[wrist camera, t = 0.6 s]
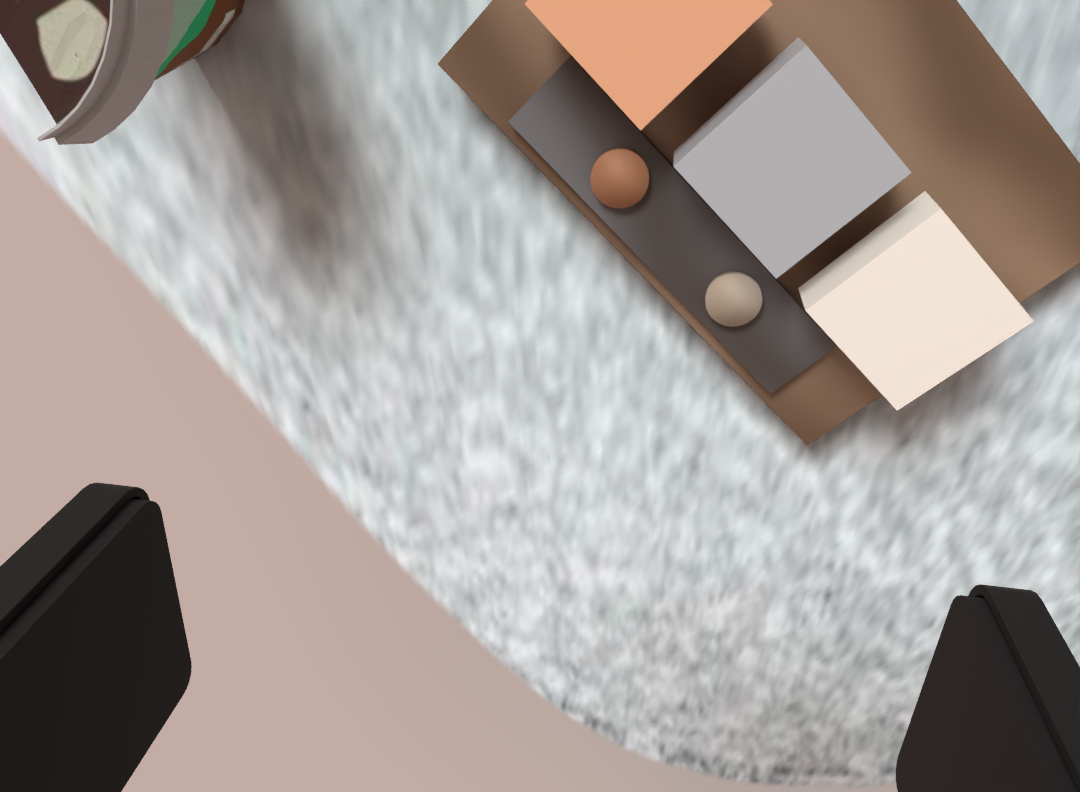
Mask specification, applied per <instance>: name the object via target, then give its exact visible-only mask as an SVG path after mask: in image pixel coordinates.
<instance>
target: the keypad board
mask: <svg viewBox="0 0 1080 792" xmlns="http://www.w3.org/2000/svg"><path fill="white" fill-rule="evenodd" d="M526 1H527V0H493V1H492V2H491V3H490V4H489V5H488V6H487V8H486V9H485V10H484V11H483V12H482V13H481V14H480V16H479V17H478V18H477V19H476V20H475V21H474V23H473V24H472V25H471V26H470V27H469V28H468V29H467V31H466V32H465V33H464V34H463V35H462V36H461V38H460V39H459V40H458V41H457V42H456V43H455V44H454V46H453V47H452V48H451V49H450V50H449V51H448V53H447V54H446V55H445V56H444V57H443V58H442V59H441V61H440V62H439V63H438V65H439V66H440V67H441V68H442V69H443V70H444V71H445V72H446V73H447V74H448V75H449V76H450V77H451V78H452V79H453V80H454V81H455V82H456V83H457V84H458V86H459V87H460V88H461V89H462V90H463V91H464V92H465V93H466V94H467V95H468V96H469V97H470V98H471V99H472V100H473V101H474V102H475V103H476V104H477V105H478V106H479V107H480V108H481V109H482V110H483V111H484V112H485V113H486V114H487V115H488V116H489V117H490V119H491V120H492V121H493V122H494V123H495V124H496V125H497V126H498V127H499V128H500V129H501V130H502V131H503V132H504V133H505V134H506V135H507V136H508V137H509V138H510V139H511V140H512V141H513V142H514V143H515V144H516V145H517V146H518V147H519V148H520V149H521V151H522V152H523V153H524V154H525V155H526V156H527V157H528V158H529V159H530V160H531V161H532V162H533V163H534V164H535V165H536V166H537V167H538V168H539V169H540V170H541V171H542V172H543V173H544V174H545V175H546V176H547V177H548V178H549V179H550V180H551V181H552V182H553V184H554V185H555V186H556V187H557V188H558V189H559V190H560V191H561V192H562V193H563V194H564V195H565V196H566V197H567V198H568V199H569V200H570V201H571V202H572V203H573V204H574V205H575V206H576V207H577V208H578V209H579V210H580V211H581V212H582V213H583V214H584V215H585V217H586V218H587V219H588V220H589V221H590V222H591V223H592V224H593V225H594V226H595V227H596V228H597V229H598V230H599V231H600V232H601V233H602V234H603V235H604V236H605V237H606V238H607V239H608V240H609V241H610V242H611V243H612V244H613V245H614V246H615V247H616V249H617V250H618V251H619V252H620V253H621V254H622V255H623V256H624V257H625V258H626V259H627V260H628V261H629V262H630V263H631V264H632V265H633V266H634V267H635V268H636V269H637V270H638V271H639V272H640V273H641V274H642V275H643V276H644V277H645V278H646V279H647V280H648V282H649V283H650V284H651V285H652V286H653V287H654V288H655V289H656V290H657V291H658V292H659V293H660V294H661V295H662V296H663V297H664V298H665V299H666V300H667V301H668V302H669V303H670V304H671V305H672V306H673V307H674V308H675V309H676V310H677V311H678V312H679V314H680V315H681V316H682V317H683V318H684V319H685V320H686V321H687V322H688V323H689V324H690V325H691V326H692V327H693V328H694V329H695V330H696V331H697V332H698V333H699V334H700V335H701V336H702V337H703V338H704V339H705V340H706V341H707V342H708V343H709V344H710V345H711V347H712V348H713V349H714V350H715V351H716V352H717V353H718V354H719V355H720V356H721V357H722V358H723V359H724V360H725V361H726V362H727V363H728V364H729V365H730V366H731V367H732V368H733V369H734V370H735V371H736V372H737V373H738V374H739V375H740V376H741V377H742V378H743V380H744V381H745V382H746V383H747V384H748V385H749V386H750V387H751V388H752V389H753V390H754V391H755V392H756V393H757V394H758V395H759V396H760V397H761V398H762V399H763V400H764V401H765V402H766V403H767V404H768V405H769V406H770V407H771V408H772V409H773V410H774V412H775V413H776V414H777V415H778V416H779V417H780V418H781V419H782V420H783V421H784V422H785V423H786V424H787V425H788V426H789V427H790V428H791V429H792V430H793V431H794V432H795V433H796V434H797V435H798V436H799V437H800V438H801V439H802V440H803V441H804V442H805V443H806V445H808V444H810V443H811V442H813V441H814V440H816V439H817V438H819V437H820V436H822V435H823V434H825V433H826V432H828V431H829V430H831V429H832V428H834V427H835V426H837V425H838V424H840V423H841V422H843V421H844V420H846V419H847V418H849V417H850V416H852V415H853V414H855V413H856V412H858V411H859V410H861V409H862V408H864V407H865V406H867V405H868V404H870V403H871V402H873V401H874V400H876V399H877V398H879V397H880V396H882V394H881V393H880V392H879V391H878V389H877V388H876V387H875V386H874V385H873V384H872V383H871V382H870V381H869V380H868V378H867V377H866V376H865V375H864V374H863V373H862V372H861V371H860V370H859V369H858V368H857V366H856V365H855V364H854V363H853V362H852V361H851V360H850V359H849V358H848V357H847V356H846V354H845V353H844V352H843V351H842V350H841V349H840V348H839V347H838V346H837V345H836V344H835V342H834V341H833V340H832V339H831V338H830V337H829V336H828V335H827V334H826V333H825V332H824V330H823V329H822V328H821V327H820V326H819V325H818V324H817V323H816V322H815V321H814V320H813V318H812V317H811V316H810V315H809V314H808V313H807V312H806V311H805V308H804V305H803V302H802V299H801V295H800V292H799V289H798V288H799V287H800V286H802V285H803V284H804V283H806V282H807V281H808V280H810V279H811V278H812V277H813V276H815V275H816V274H817V273H819V272H820V271H821V270H823V269H824V268H825V267H826V266H828V265H829V264H830V263H832V262H833V261H834V260H836V259H837V258H838V257H839V256H841V255H842V254H843V253H845V252H846V251H847V250H849V249H850V248H851V247H853V246H854V245H855V244H856V243H858V242H859V241H860V240H862V239H863V238H864V237H866V236H867V235H868V234H869V233H871V232H872V231H873V230H875V229H876V228H877V227H879V226H880V225H881V224H882V223H884V222H885V221H886V220H888V219H889V218H890V217H892V216H893V215H894V214H895V213H897V212H898V211H899V210H901V209H902V208H903V207H905V206H906V205H907V204H909V203H910V202H911V201H912V200H914V199H915V198H916V197H918V196H919V195H920V194H922V193H923V192H924V191H926V192H927V194H928V195H929V196H930V197H931V198H932V199H933V200H934V201H935V202H936V203H937V205H938V206H939V207H940V208H941V209H942V210H943V211H944V213H945V214H946V215H947V216H948V217H949V219H950V220H951V221H952V222H953V224H954V225H955V226H956V227H957V228H958V230H959V231H960V232H961V233H962V234H963V236H964V237H965V238H966V239H967V241H968V242H969V243H970V244H971V245H972V247H973V248H974V249H975V250H976V251H977V253H978V254H979V255H980V256H981V258H982V259H983V260H984V261H985V262H986V264H987V265H988V266H989V267H990V268H991V270H992V271H993V272H994V273H995V275H996V276H997V277H998V278H999V279H1000V281H1001V282H1002V283H1003V284H1004V285H1005V287H1006V288H1007V289H1008V290H1009V292H1010V293H1011V294H1012V295H1013V296H1014V298H1015V299H1016V300H1017V301H1018V302H1019V303H1020V302H1022V301H1023V300H1025V299H1026V298H1028V297H1029V296H1031V295H1032V294H1034V293H1035V292H1037V291H1038V290H1040V289H1041V288H1043V287H1044V286H1046V285H1047V284H1049V283H1050V282H1052V281H1053V280H1055V279H1056V278H1058V277H1059V276H1061V275H1062V274H1064V273H1065V272H1067V271H1068V270H1070V269H1071V268H1073V267H1074V266H1076V265H1077V264H1079V263H1080V163H1079V162H1078V161H1077V159H1076V158H1075V157H1074V155H1073V154H1072V153H1071V151H1070V150H1069V149H1068V147H1067V146H1066V145H1065V143H1064V142H1063V141H1062V139H1061V138H1060V137H1059V135H1058V134H1057V133H1056V131H1055V130H1054V129H1053V127H1052V126H1051V125H1050V123H1049V122H1048V121H1047V119H1046V118H1045V117H1044V115H1043V114H1042V113H1041V112H1040V110H1039V109H1038V108H1037V106H1036V105H1035V104H1034V102H1033V101H1032V100H1031V98H1030V97H1029V96H1028V94H1027V93H1026V92H1025V90H1024V89H1023V88H1022V86H1021V85H1020V84H1019V82H1018V81H1017V80H1016V78H1015V77H1014V76H1013V74H1012V73H1011V72H1010V70H1009V69H1008V68H1007V66H1006V65H1005V64H1004V62H1003V61H1002V60H1001V59H1000V57H999V56H998V55H997V53H996V52H995V51H994V49H993V48H992V47H991V45H990V44H989V43H988V41H987V40H986V39H985V37H984V36H983V35H982V33H981V32H980V31H979V29H978V28H977V27H976V25H975V24H974V23H973V21H972V20H971V19H970V17H969V16H968V15H967V13H966V12H965V11H964V9H963V8H962V7H961V5H960V4H959V3H958V2H957V0H770V1H771V3H772V4H773V5H772V6H771V7H770V8H769V9H768V10H767V11H766V12H765V13H763V14H762V15H761V16H760V17H759V18H758V19H757V20H756V21H755V22H754V23H753V24H752V25H751V26H750V27H749V28H748V29H747V30H746V31H745V32H744V33H742V34H741V35H740V36H739V37H738V38H737V39H736V40H735V41H734V42H733V43H732V44H731V45H730V46H729V47H728V48H727V49H726V50H725V51H724V52H723V53H722V54H720V55H719V56H718V57H717V58H716V59H715V60H714V61H713V62H712V63H711V64H710V65H709V66H708V67H707V68H706V69H705V70H704V71H703V72H702V73H701V74H699V75H698V76H697V77H696V78H695V79H694V80H693V81H692V82H691V83H690V84H689V85H688V86H687V87H686V88H685V89H684V90H683V91H682V92H681V93H680V94H679V95H677V96H676V97H675V98H674V99H673V100H672V101H671V102H670V103H669V104H668V105H667V106H666V107H665V108H664V109H663V110H662V111H661V112H660V113H659V114H658V115H656V116H655V117H654V118H653V119H652V120H651V121H650V122H649V123H648V124H647V125H646V126H645V127H644V128H643V129H642V130H641V131H640V129H639V128H638V127H637V126H636V125H635V124H634V123H633V122H632V121H631V120H630V119H629V117H628V116H627V115H626V114H625V113H624V112H623V111H622V110H621V109H620V108H619V107H618V105H617V104H616V103H615V102H614V101H613V100H612V99H611V98H610V97H609V96H608V95H607V93H606V92H605V91H604V90H603V89H602V88H601V87H600V86H599V85H598V84H597V82H596V81H595V80H594V79H593V78H592V77H591V76H590V75H589V74H588V73H587V72H586V70H585V69H584V68H583V67H582V66H581V65H580V64H579V63H578V62H577V61H576V60H575V58H574V57H573V56H572V55H571V54H570V53H569V52H568V51H567V50H566V49H565V48H564V46H563V45H562V44H561V43H560V42H559V41H558V40H557V39H556V38H555V37H554V36H553V34H552V33H551V32H550V31H549V30H548V29H547V28H546V27H545V26H544V25H543V24H542V22H541V21H540V20H539V19H538V18H537V17H536V16H535V15H534V14H533V13H532V11H531V10H530V9H529V8H528V7H527V6H526V5H525V3H526ZM798 37H799V38H800V39H801V40H802V41H803V42H804V43H805V44H806V45H807V46H808V47H809V49H810V50H811V51H812V52H813V54H814V55H815V56H816V57H817V58H818V60H819V61H820V62H821V63H822V64H823V66H824V67H825V68H826V69H827V71H828V72H829V73H830V74H831V75H832V77H833V78H834V79H835V80H836V81H837V83H838V84H839V85H840V86H841V88H842V89H843V90H844V91H845V92H846V94H847V95H848V96H849V97H850V98H851V100H852V101H853V102H854V103H855V105H856V106H857V107H858V108H859V109H860V111H861V112H862V113H863V114H864V115H865V117H866V118H867V119H868V120H869V122H870V123H871V124H872V125H873V126H874V128H875V129H876V130H877V131H878V132H879V134H880V135H881V136H882V137H883V139H884V140H885V141H886V142H887V143H888V145H889V146H890V147H891V148H892V149H893V151H894V152H895V153H896V154H897V156H898V157H899V158H900V159H901V160H902V162H903V163H904V164H905V165H906V166H907V168H908V169H909V170H910V171H911V174H909V175H908V176H907V177H905V178H904V179H903V180H902V181H900V182H899V183H898V184H897V185H895V186H894V187H893V188H891V189H890V190H889V191H888V192H886V193H885V194H884V195H883V196H881V197H880V198H879V199H877V200H876V201H875V202H874V203H872V204H871V205H870V206H868V207H867V208H866V209H865V210H863V211H862V212H861V213H860V214H858V215H857V216H856V217H854V218H853V219H852V220H851V221H849V222H848V223H847V224H846V225H844V226H843V227H842V228H840V229H839V230H838V231H837V232H835V233H834V234H833V235H831V236H830V237H829V238H828V239H826V240H825V241H824V242H823V243H821V244H820V245H819V246H817V247H816V248H815V249H814V250H812V251H811V252H810V253H809V254H807V255H806V256H805V257H803V258H802V259H801V260H800V261H798V262H797V263H796V264H794V265H793V266H792V267H791V268H789V269H788V270H787V271H786V272H784V273H783V274H782V275H780V276H779V277H778V278H777V279H776V278H775V277H774V276H773V275H772V274H771V273H770V271H769V270H768V269H767V268H766V267H765V266H764V265H763V264H762V263H761V262H760V261H759V259H758V258H757V257H756V256H755V255H754V254H753V253H752V252H751V251H750V250H749V249H748V247H747V246H746V245H745V244H744V243H743V242H742V241H741V240H740V239H739V238H738V236H737V235H736V234H735V233H734V232H733V231H732V230H731V229H730V228H729V227H728V226H727V224H726V223H725V222H724V221H723V220H722V219H721V218H720V217H719V216H718V215H717V214H716V212H715V211H714V210H713V209H712V208H711V207H710V206H709V205H708V204H707V203H706V202H705V200H704V199H703V198H702V197H701V196H700V195H699V194H698V193H697V192H696V191H695V190H694V188H693V187H692V186H691V185H690V184H689V183H688V182H687V181H686V180H685V179H684V178H683V176H682V175H681V174H680V173H679V172H678V171H677V170H676V169H675V168H674V167H673V161H674V151H675V150H676V149H677V148H678V147H679V146H680V145H681V144H683V143H684V142H685V141H686V140H687V139H688V138H689V137H690V136H691V135H692V134H693V133H694V132H696V131H697V130H698V129H699V128H700V127H701V126H702V125H703V124H704V123H705V122H706V121H708V120H709V119H710V118H711V117H712V116H713V115H714V114H715V113H716V112H717V111H718V110H720V109H721V108H722V107H723V106H724V105H725V104H726V103H727V102H728V101H729V100H730V99H731V98H733V97H734V96H735V95H736V94H737V93H738V92H739V91H740V90H741V89H742V88H743V87H745V86H746V85H747V84H748V83H749V82H750V81H751V80H752V79H753V78H754V77H755V76H757V75H758V74H759V73H760V72H761V71H762V70H763V69H764V68H765V67H766V66H767V65H768V64H770V63H771V62H772V61H773V60H774V59H775V58H776V57H777V56H778V55H779V54H780V53H782V52H783V51H784V50H785V49H786V48H787V47H788V46H789V45H790V44H791V43H792V42H794V41H795V40H796V39H797V38H798Z"/></svg>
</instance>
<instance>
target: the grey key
mask: <svg viewBox="0 0 1080 792" xmlns="http://www.w3.org/2000/svg"><path fill="white" fill-rule="evenodd" d="M673 167H674V168H675V169H676V170H677V171H678V172H679V173H680V174H681V175H682V176H683V178H684V179H685V180H686V181H687V182H688V183H689V184H690V185H691V186H692V187H693V188H694V190H695V191H696V192H697V193H698V194H699V195H700V196H701V197H702V198H703V199H704V200H705V202H706V203H707V204H708V205H709V206H710V207H711V208H712V209H713V210H714V211H715V212H716V214H717V215H718V216H719V217H720V218H721V219H722V220H723V221H724V222H725V223H726V224H727V226H728V227H729V228H730V229H731V230H732V231H733V232H734V233H735V234H736V235H737V236H738V238H739V239H740V240H741V241H742V242H743V243H744V244H745V245H746V246H747V247H748V249H749V250H750V251H751V252H752V253H753V254H754V255H755V256H756V257H757V258H758V259H759V261H760V262H761V263H762V264H763V265H764V266H765V267H766V268H767V269H768V270H769V271H770V273H771V274H772V275H773V276H774V277H775V278H776V279H777V278H778V277H779V276H780V275H782V274H783V273H784V272H786V271H787V270H788V269H789V268H791V267H792V266H793V265H794V264H796V263H797V262H798V261H800V260H801V259H802V258H803V257H805V256H806V255H807V254H809V253H810V252H811V251H812V250H814V249H815V248H816V247H817V246H819V245H820V244H821V243H823V242H824V241H825V240H826V239H828V238H829V237H830V236H831V235H833V234H834V233H835V232H837V231H838V230H839V229H840V228H842V227H843V226H844V225H846V224H847V223H848V222H849V221H851V220H852V219H853V218H854V217H856V216H857V215H858V214H860V213H861V212H862V211H863V210H865V209H866V208H867V207H868V206H870V205H871V204H872V203H874V202H875V201H876V200H877V199H879V198H880V197H881V196H883V195H884V194H885V193H886V192H888V191H889V190H890V189H891V188H893V187H894V186H895V185H897V184H898V183H899V182H900V181H902V180H903V179H904V178H905V177H907V176H908V175H909V174H911V171H910V170H909V169H908V168H907V166H906V165H905V164H904V163H903V162H902V160H901V159H900V158H899V157H898V156H897V154H896V153H895V152H894V151H893V149H892V148H891V147H890V146H889V145H888V143H887V142H886V141H885V140H884V139H883V137H882V136H881V135H880V134H879V132H878V131H877V130H876V129H875V128H874V126H873V125H872V124H871V123H870V122H869V120H868V119H867V118H866V117H865V115H864V114H863V113H862V112H861V111H860V109H859V108H858V107H857V106H856V105H855V103H854V102H853V101H852V100H851V98H850V97H849V96H848V95H847V94H846V92H845V91H844V90H843V89H842V88H841V86H840V85H839V84H838V83H837V81H836V80H835V79H834V78H833V77H832V75H831V74H830V73H829V72H828V71H827V69H826V68H825V67H824V66H823V64H822V63H821V62H820V61H819V60H818V58H817V57H816V56H815V55H814V54H813V52H812V51H811V50H810V49H809V47H808V46H807V45H806V44H805V43H804V42H803V41H802V40H801V39H800V38H799V37H798V38H797V39H796V40H795V41H794V42H792V43H791V44H790V45H789V46H788V47H787V48H786V49H785V50H784V51H783V52H782V53H780V54H779V55H778V56H777V57H776V58H775V59H774V60H773V61H772V62H771V63H770V64H768V65H767V66H766V67H765V68H764V69H763V70H762V71H761V72H760V73H759V74H758V75H757V76H755V77H754V78H753V79H752V80H751V81H750V82H749V83H748V84H747V85H746V86H745V87H743V88H742V89H741V90H740V91H739V92H738V93H737V94H736V95H735V96H734V97H733V98H731V99H730V100H729V101H728V102H727V103H726V104H725V105H724V106H723V107H722V108H721V109H720V110H718V111H717V112H716V113H715V114H714V115H713V116H712V117H711V118H710V119H709V120H708V121H706V122H705V123H704V124H703V125H702V126H701V127H700V128H699V129H698V130H697V131H696V132H694V133H693V134H692V135H691V136H690V137H689V138H688V139H687V140H686V141H685V142H684V143H683V144H681V145H680V146H679V147H678V148H677V149H676V150H675V151H674V161H673Z"/></svg>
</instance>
